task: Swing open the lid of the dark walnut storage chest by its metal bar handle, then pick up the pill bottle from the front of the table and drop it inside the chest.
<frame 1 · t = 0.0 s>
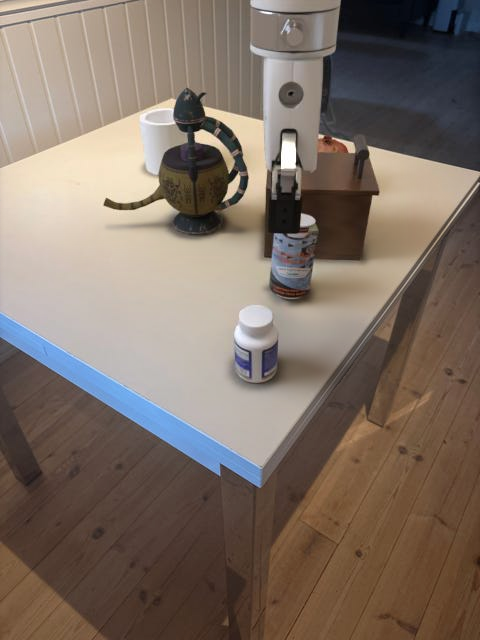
hand: (284, 208, 53), 19 cm above the table, tool pointing down, fingers open, 9 cm apart
lid: (321, 157, 76), point 14 cm above the table, hinge at 0.0°
fruit: (322, 186, 100), on the table
mug: (171, 164, 109), on the table
teapot: (178, 224, 89), on the table
chest: (310, 236, 85), on the table
beverage can: (290, 291, 74), on the table
pill bottle: (255, 369, 62), on the table
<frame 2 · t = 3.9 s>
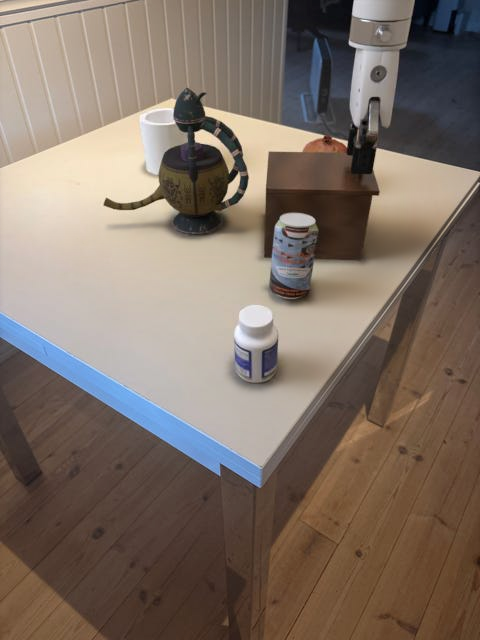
hand: (358, 162, 76), 13 cm above the table, tool pointing down, fingers closed on lid, 6 cm apart
lid: (321, 157, 76), point 14 cm above the table, hinge at 0.0°, touching gripper
everything else where it was.
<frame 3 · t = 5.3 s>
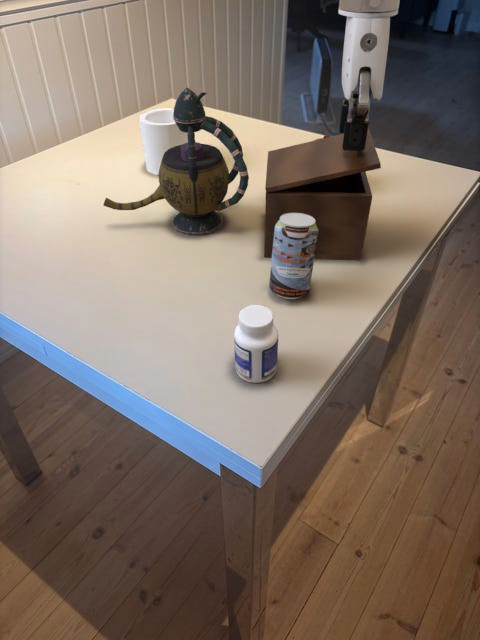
hand: (351, 139, 74), 17 cm above the table, tool pointing down, fingers closed on lid, 6 cm apart
lid: (317, 144, 74), point 16 cm above the table, hinge at 14.7°, touching gripper
everything else where it was.
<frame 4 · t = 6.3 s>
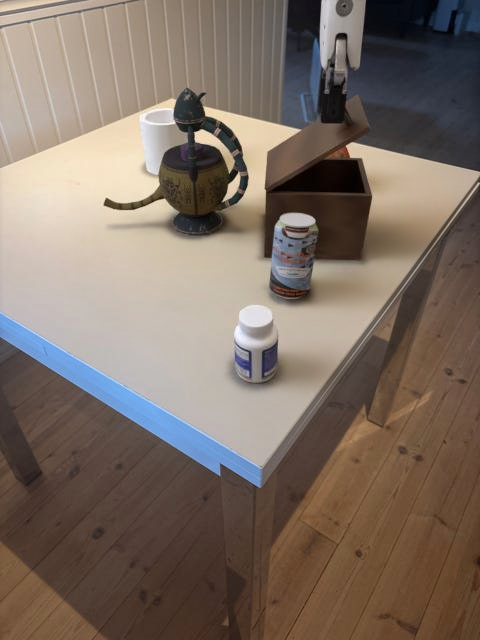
hand: (330, 113, 71), 21 cm above the table, tool pointing down, fingers closed on lid, 6 cm apart
lid: (305, 129, 73), point 18 cm above the table, hinge at 34.3°, touching gripper
everything else where it was.
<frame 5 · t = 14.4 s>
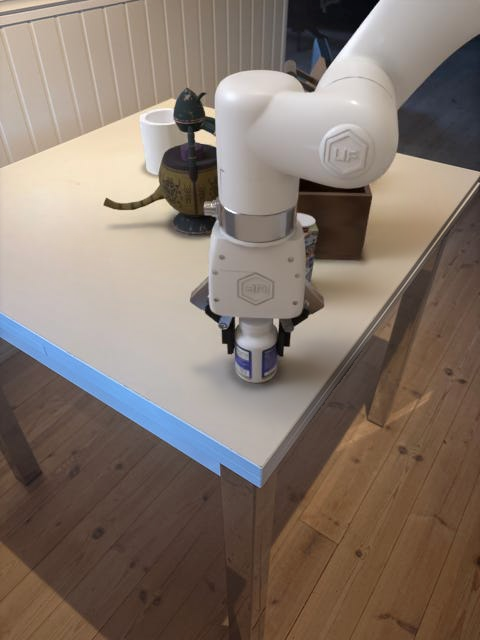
hand: (256, 346, 59), 4 cm above the table, tool pointing down, fingers closed on pill bottle, 5 cm apart
lid: (280, 116, 72), point 20 cm above the table, hinge at 62.8°
pill bottle: (255, 369, 62), on the table, touching gripper
everything else where it was.
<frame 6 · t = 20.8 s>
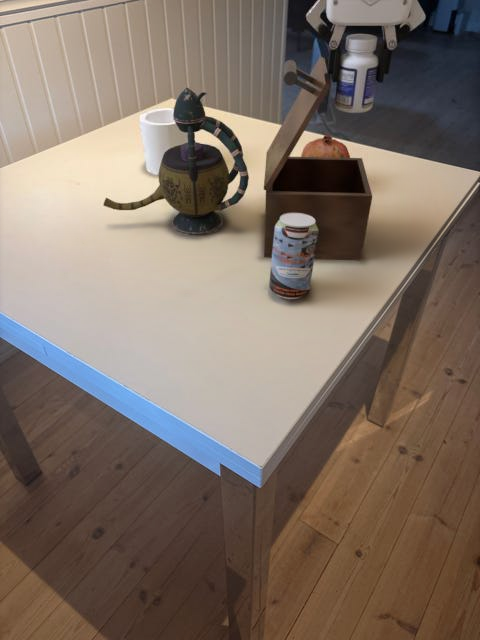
hand: (356, 78, 67), 26 cm above the table, tool pointing down, fingers closed on pill bottle, 5 cm apart
lid: (280, 116, 72), point 20 cm above the table, hinge at 62.8°, touching gripper
pill bottle: (352, 109, 70), point 22 cm above the table, touching gripper
everything else where it was.
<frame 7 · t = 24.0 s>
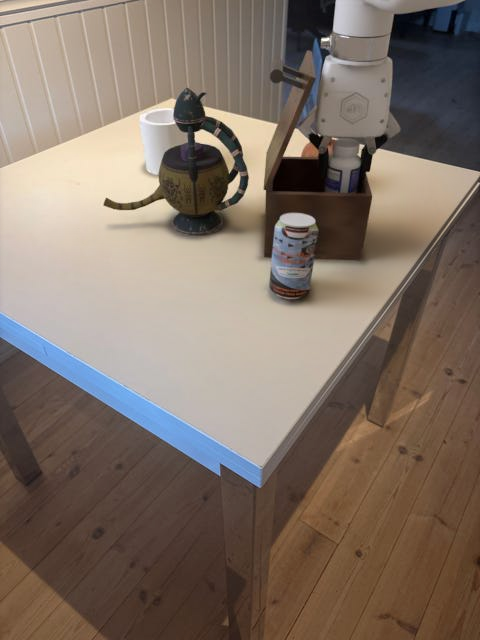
hand: (342, 174, 77), 12 cm above the table, tool pointing down, fingers closed on pill bottle, 5 cm apart
lid: (273, 115, 72), point 20 cm above the table, hinge at 70.1°
pill bottle: (339, 197, 80), point 8 cm above the table, touching gripper
everything else where it was.
when the fingers open (13 cm above the table, at t = 32.9 s): pill bottle drops 8 cm, resting on chest.
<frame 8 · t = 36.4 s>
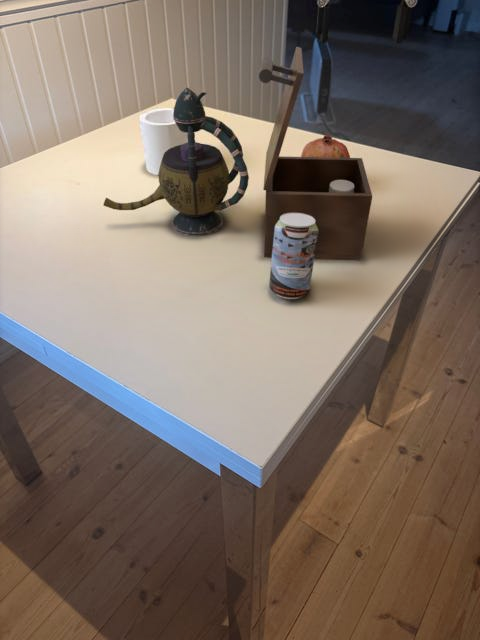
hand: (360, 40, 65), 30 cm above the table, tool pointing down, fingers open, 9 cm apart
lid: (267, 115, 72), point 21 cm above the table, hinge at 75.9°
pill bottle: (335, 233, 84), point 1 cm above the table, touching chest
everything else where it was.
at the end: lid at +76° (first picture: +0°); pill bottle inside the target area in the chest (4.3 cm from its centre), point 0.7 cm above the chest's base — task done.
